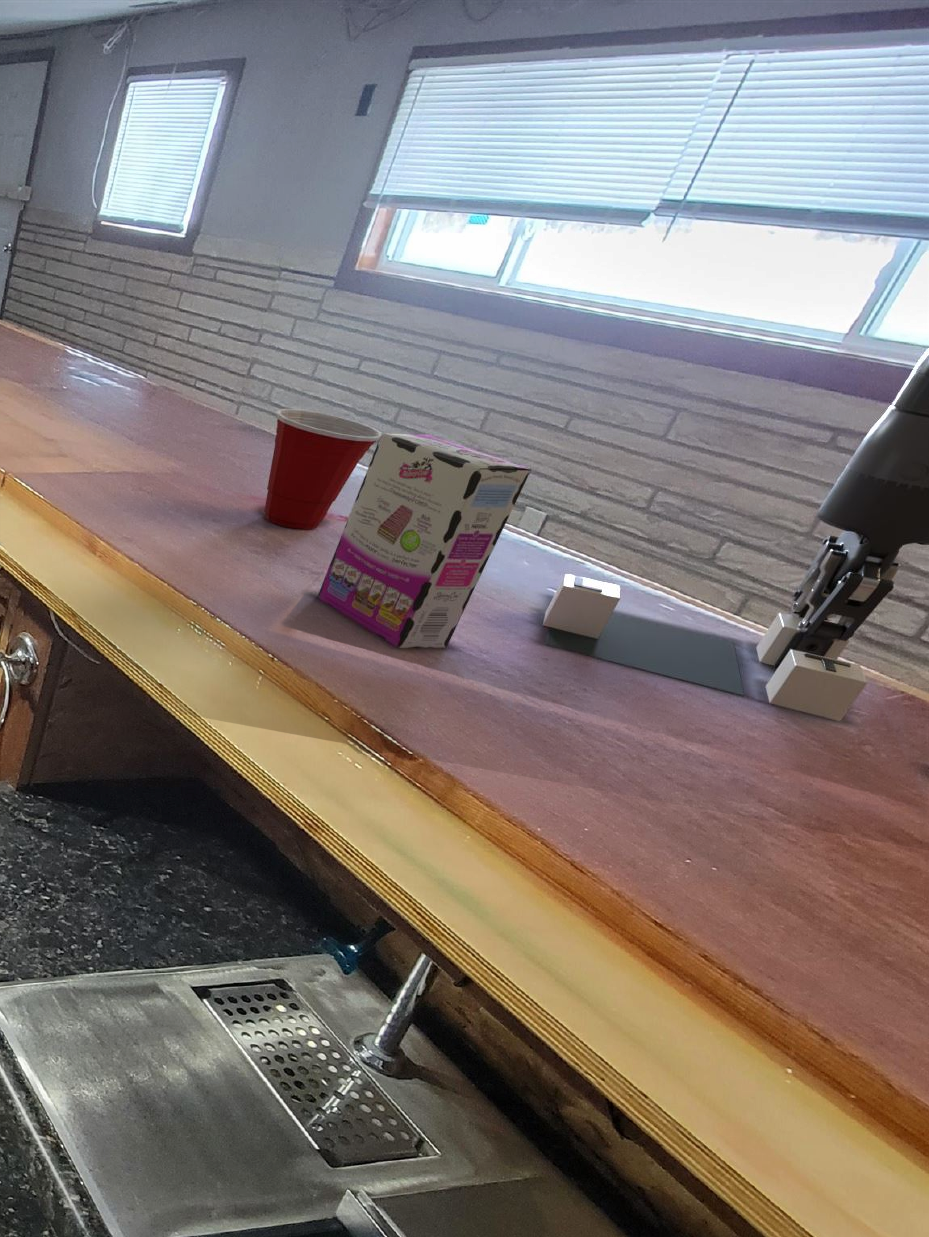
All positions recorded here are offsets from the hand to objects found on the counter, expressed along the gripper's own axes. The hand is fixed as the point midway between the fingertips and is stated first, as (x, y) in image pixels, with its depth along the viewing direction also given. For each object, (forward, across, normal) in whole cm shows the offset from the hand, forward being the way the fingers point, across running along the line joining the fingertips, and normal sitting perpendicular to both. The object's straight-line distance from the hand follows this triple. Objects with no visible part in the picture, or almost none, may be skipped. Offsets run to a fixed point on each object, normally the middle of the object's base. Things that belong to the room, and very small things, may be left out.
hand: (787, 664), depth 85 cm
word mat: (0, -5, +10) cm, 11 cm away
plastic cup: (0, +10, +42) cm, 43 cm away
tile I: (0, 0, 0) cm, 0 cm away
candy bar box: (0, -17, +28) cm, 33 cm away
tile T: (0, -10, 0) cm, 10 cm away
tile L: (0, -5, +15) cm, 16 cm away
